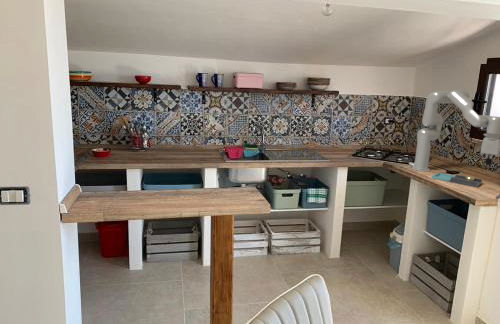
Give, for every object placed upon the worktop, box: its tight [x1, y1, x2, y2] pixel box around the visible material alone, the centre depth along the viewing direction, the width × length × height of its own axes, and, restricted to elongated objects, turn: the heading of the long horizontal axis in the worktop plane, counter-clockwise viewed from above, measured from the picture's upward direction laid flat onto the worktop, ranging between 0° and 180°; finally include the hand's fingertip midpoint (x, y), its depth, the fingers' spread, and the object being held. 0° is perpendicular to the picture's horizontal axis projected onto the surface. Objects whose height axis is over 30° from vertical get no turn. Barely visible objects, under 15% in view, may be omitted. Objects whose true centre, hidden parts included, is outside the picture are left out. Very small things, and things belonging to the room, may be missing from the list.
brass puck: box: [465, 175, 476, 181], centre depth 252 cm, size 5×5×2 cm
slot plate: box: [449, 174, 483, 188], centre depth 254 cm, size 16×14×3 cm
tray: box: [431, 172, 455, 183], centre depth 263 cm, size 12×14×2 cm
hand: (488, 164), depth 244 cm, fingers closed
